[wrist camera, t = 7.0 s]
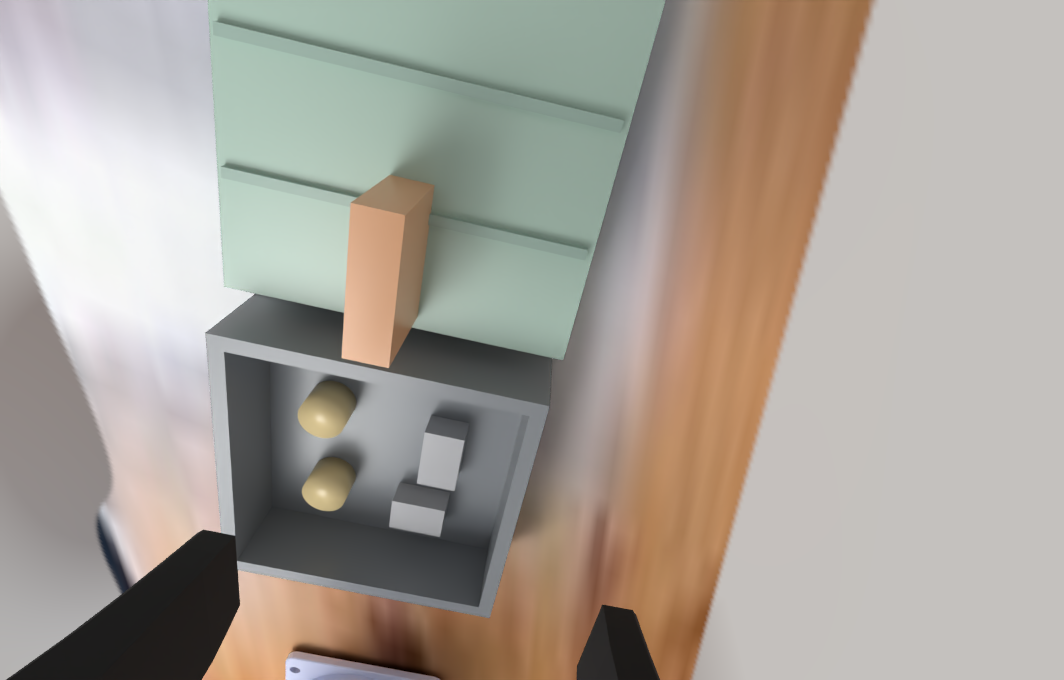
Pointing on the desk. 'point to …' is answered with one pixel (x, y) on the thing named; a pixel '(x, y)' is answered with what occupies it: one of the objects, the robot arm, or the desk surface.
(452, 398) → the tub
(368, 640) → the desk surface
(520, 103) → the lid
